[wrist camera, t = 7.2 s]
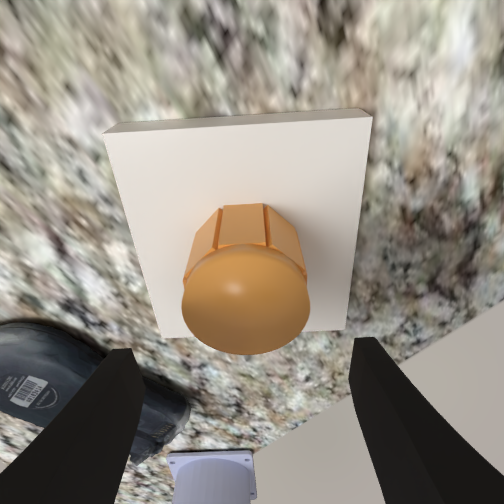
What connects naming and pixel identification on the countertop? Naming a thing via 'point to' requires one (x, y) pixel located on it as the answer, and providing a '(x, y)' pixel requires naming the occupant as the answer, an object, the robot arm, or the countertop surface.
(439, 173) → the countertop surface
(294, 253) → the orange acorn nut
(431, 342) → the countertop surface
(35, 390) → the electronic device
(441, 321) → the countertop surface
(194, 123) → the white base plate
